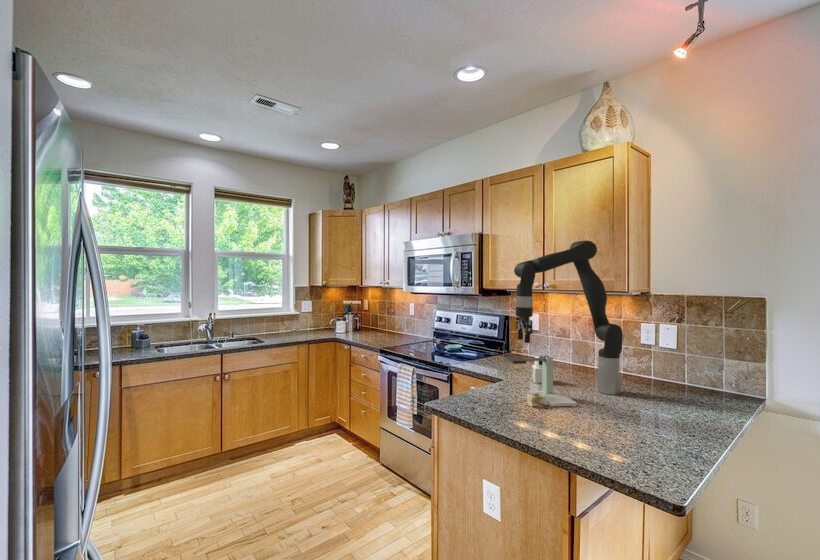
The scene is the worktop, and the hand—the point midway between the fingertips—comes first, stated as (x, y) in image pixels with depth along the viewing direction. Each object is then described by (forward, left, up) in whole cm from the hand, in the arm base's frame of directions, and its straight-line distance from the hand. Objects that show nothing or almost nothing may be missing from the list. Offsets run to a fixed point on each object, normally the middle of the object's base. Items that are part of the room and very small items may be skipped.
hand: (523, 341), depth 178 cm
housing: (-1, +11, -26) cm, 28 cm away
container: (-19, -24, -26) cm, 40 cm away
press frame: (-12, +5, -26) cm, 29 cm away
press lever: (-4, -2, -10) cm, 11 cm away
